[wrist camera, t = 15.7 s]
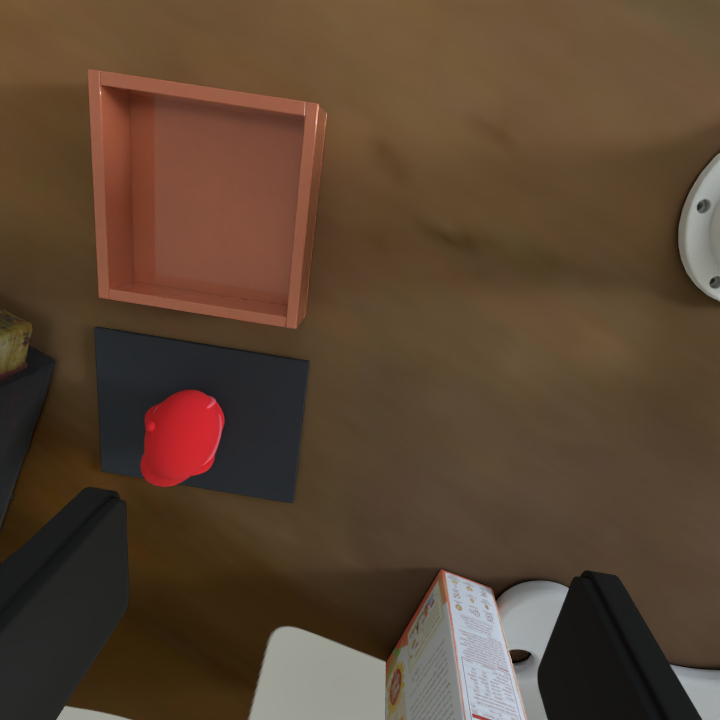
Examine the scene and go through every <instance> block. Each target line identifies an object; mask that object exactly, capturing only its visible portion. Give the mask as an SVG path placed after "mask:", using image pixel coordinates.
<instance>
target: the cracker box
mask: <svg viewBox="0 0 720 720" xmlns="http://www.w3.org/2000/svg"><path fill="white" fill-rule="evenodd" d="M385 720H527V717H526V713H525V710H524V706H523V702H522V698H521V695H520V691H519V687H518V683H517V679H516V676H515V672H514V668H513V664H512V661H511V657H510V653H509V649H508V645H507V642H506V638H505V634H504V630H503V626H502V623H501V619H500V615H499V612H498V608H497V604H496V601H495V596H494V593H493V589H492V588H491V587H488V586H486V585H483V584H480V583H477V582H474V581H472V580H469V579H467V578H464V577H461V576H459V575H456V574H453V573H451V572H448V571H445V570H442V569H441V570H440V571H439V573H438V575H437V577H436V578H435V580H434V582H433V583H432V585H431V587H430V588H429V590H428V592H427V593H426V595H425V597H424V599H423V600H422V602H421V604H420V605H419V607H418V609H417V611H416V612H415V614H414V616H413V618H412V619H411V621H410V623H409V624H408V626H407V628H406V629H405V631H404V633H403V634H402V636H401V638H400V640H399V642H398V643H397V645H396V647H395V648H394V650H393V652H392V653H391V655H390V657H389V658H388V660H387V662H386V697H385Z"/></svg>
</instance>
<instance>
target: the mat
mask: <svg viewBox="0 0 720 720" xmlns="http://www.w3.org/2000/svg"><path fill="white" fill-rule="evenodd" d="M94 331H95V350H96V369H97V388H98V406H99V425H100V444H101V462H102V471H103V472H109V473H114V474H120V475H126V476H132V477H138V478H144V477H143V475H142V472H141V459H142V457H143V454H144V453H145V450H144V440H145V433H146V429H145V414H146V412H147V411H148V410H149V409H150V408H151V407H153V406H155V405H157V404H159V403H161V402H163V401H165V400H166V399H167V398H168V397H170V396H171V395H173V394H175V393H177V392H180V391H183V390H198V391H201V392H203V393H205V394H206V395H209V396H212V397H213V398H215V400H216V402H217V403H218V404H219V406H220V407H221V409H222V412H223V414H224V427H223V430H222V432H221V437H220V441H219V444H218V447H217V450H216V452H215V458H214V462H213V464H212V466H211V467H210V469H208V470H207V471H206V472H204V473H201V474H198V475H194V476H190V477H188V478H187V479H186V480H184V481H183V482H181V483H179V484H180V485H186V486H192V487H198V488H204V489H210V490H216V491H222V492H228V493H234V494H240V495H246V496H252V497H258V498H264V499H270V500H276V501H282V502H288V503H293V501H294V492H295V483H296V474H297V465H298V457H299V448H300V439H301V430H302V422H303V413H304V404H305V395H306V387H307V378H308V369H309V361H307V360H300V359H294V358H288V357H282V356H276V355H269V354H263V353H257V352H251V351H244V350H238V349H232V348H226V347H220V346H213V345H207V344H201V343H195V342H189V341H182V340H176V339H170V338H164V337H158V336H151V335H145V334H139V333H133V332H127V331H120V330H114V329H108V328H102V327H95V328H94ZM144 479H145V478H144Z"/></svg>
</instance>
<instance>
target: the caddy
mask: <svg viewBox="0 0 720 720" xmlns="http://www.w3.org/2000/svg"><path fill="white" fill-rule="evenodd" d="M88 88H89V109H90V129H91V150H92V170H93V190H94V211H95V231H96V252H97V272H98V292H99V298H104V299H110V300H116V301H123V302H129V303H135V304H141V305H148V306H154V307H160V308H166V309H173V310H179V311H185V312H191V313H198V314H204V315H210V316H216V317H223V318H229V319H235V320H241V321H248V322H254V323H260V324H267V325H273V326H279V327H286V328H292V329H296V328H297V327H298V325H299V324H300V323H301V321H302V320H303V319H304V317H305V316H306V309H307V300H308V290H309V281H310V272H311V262H312V253H313V244H314V234H315V225H316V216H317V206H318V197H319V188H320V178H321V169H322V160H323V150H324V141H325V132H326V123H327V113H326V112H325V111H324V110H323V109H322V108H321V106H320V105H319V104H318V103H312V102H305V101H299V100H293V99H286V98H279V97H273V96H266V95H259V94H253V93H246V92H239V91H233V90H226V89H219V88H213V87H206V86H199V85H193V84H186V83H179V82H173V81H166V80H159V79H153V78H146V77H139V76H133V75H126V74H119V73H113V72H106V71H99V70H92V69H88Z"/></svg>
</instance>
